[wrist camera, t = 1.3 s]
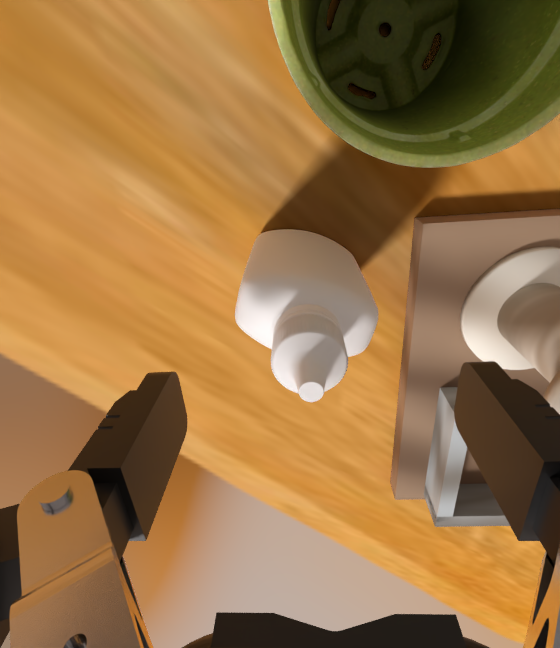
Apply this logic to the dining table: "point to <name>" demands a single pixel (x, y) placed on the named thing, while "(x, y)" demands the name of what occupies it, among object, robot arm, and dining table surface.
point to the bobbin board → (471, 345)
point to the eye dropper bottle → (305, 308)
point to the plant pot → (426, 73)
